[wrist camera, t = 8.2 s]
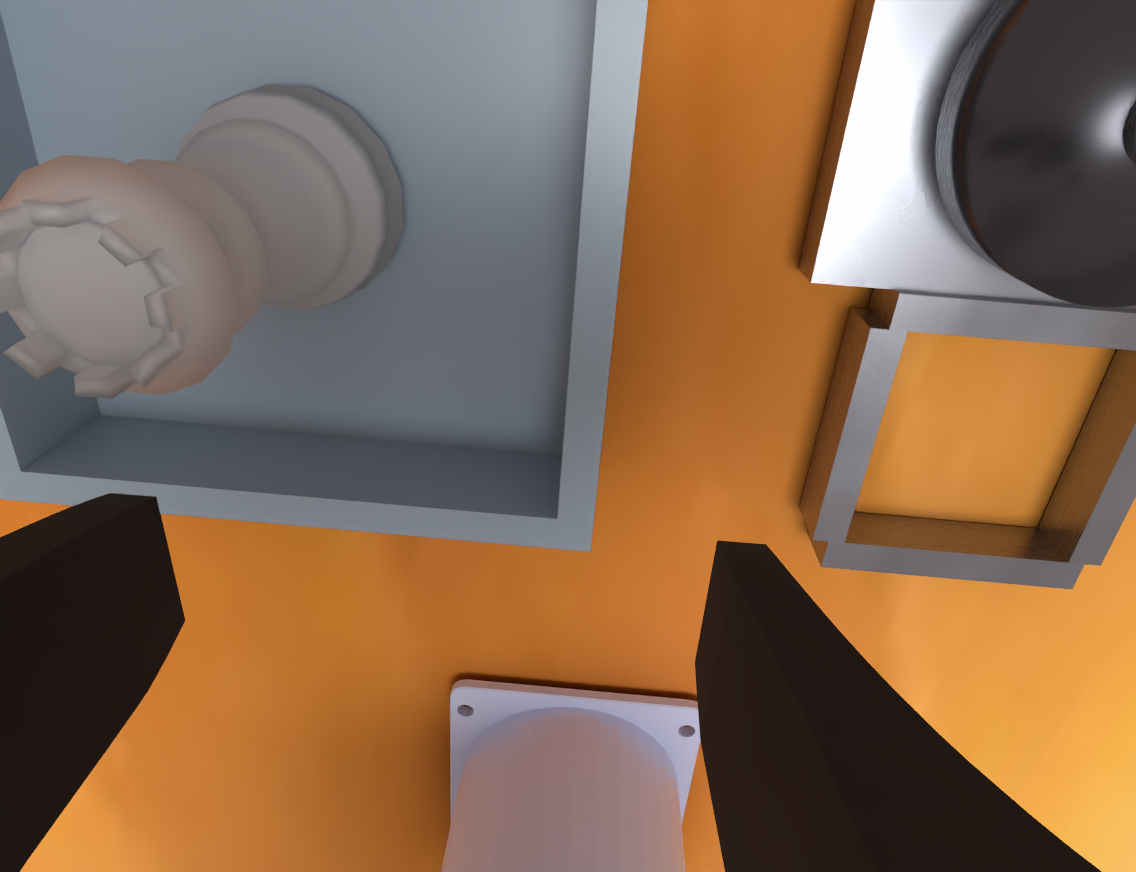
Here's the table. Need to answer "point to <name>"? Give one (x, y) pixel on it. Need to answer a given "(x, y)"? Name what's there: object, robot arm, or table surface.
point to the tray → (393, 298)
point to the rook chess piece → (194, 240)
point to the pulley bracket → (979, 255)
